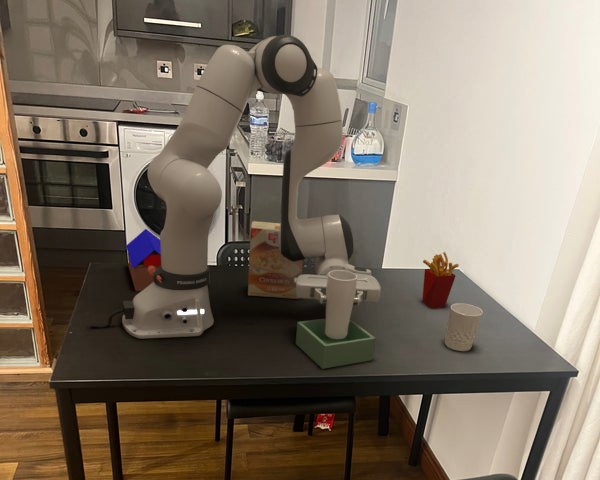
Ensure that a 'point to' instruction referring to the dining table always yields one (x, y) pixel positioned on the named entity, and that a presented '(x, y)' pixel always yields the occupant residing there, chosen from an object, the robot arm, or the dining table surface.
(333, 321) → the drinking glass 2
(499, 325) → the dining table surface
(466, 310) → the white cup
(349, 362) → the tote
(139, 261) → the house
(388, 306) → the dining table surface
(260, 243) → the coffeecake box
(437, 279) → the french fries
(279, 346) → the dining table surface
